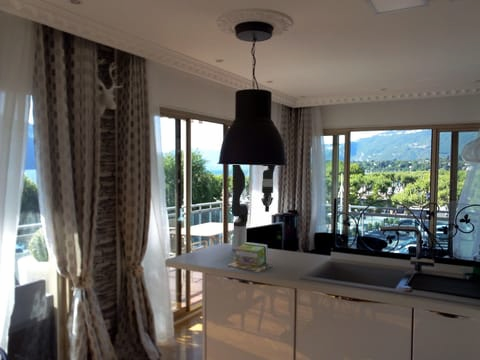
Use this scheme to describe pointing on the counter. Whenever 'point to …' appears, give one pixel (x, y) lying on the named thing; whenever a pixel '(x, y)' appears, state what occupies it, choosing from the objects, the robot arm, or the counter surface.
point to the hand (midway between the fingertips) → (267, 211)
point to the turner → (262, 268)
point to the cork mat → (247, 266)
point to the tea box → (251, 254)
